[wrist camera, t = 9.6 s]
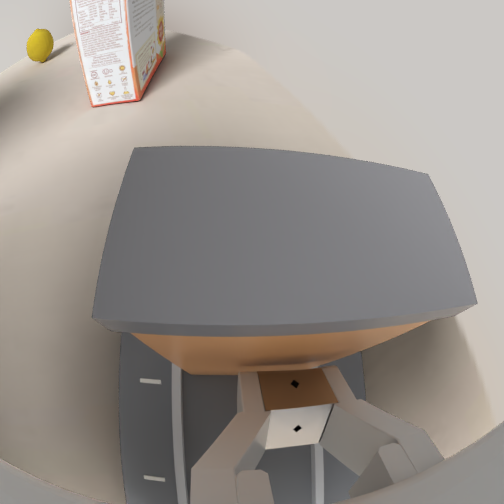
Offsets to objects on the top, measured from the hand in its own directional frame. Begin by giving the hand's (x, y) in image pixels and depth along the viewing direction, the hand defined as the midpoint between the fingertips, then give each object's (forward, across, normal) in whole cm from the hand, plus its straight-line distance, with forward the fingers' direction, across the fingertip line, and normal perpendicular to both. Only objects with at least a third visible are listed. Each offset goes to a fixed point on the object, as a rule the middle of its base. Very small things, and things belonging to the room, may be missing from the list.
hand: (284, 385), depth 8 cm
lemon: (+37, -38, +30) cm, 61 cm away
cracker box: (+26, -13, +18) cm, 34 cm away
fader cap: (+5, -1, -2) cm, 6 cm away
